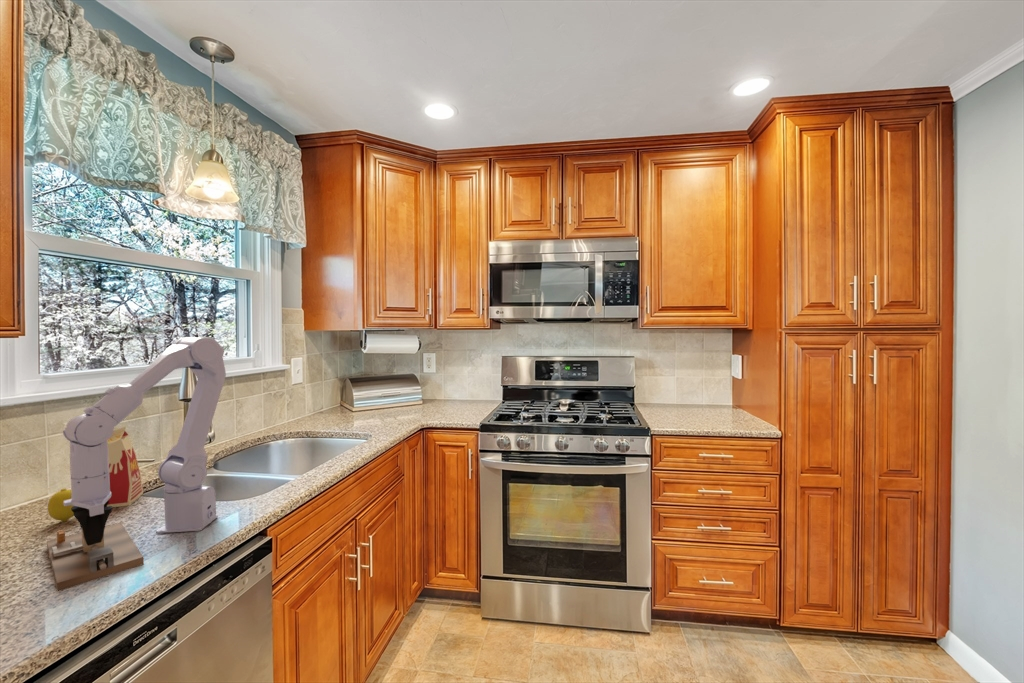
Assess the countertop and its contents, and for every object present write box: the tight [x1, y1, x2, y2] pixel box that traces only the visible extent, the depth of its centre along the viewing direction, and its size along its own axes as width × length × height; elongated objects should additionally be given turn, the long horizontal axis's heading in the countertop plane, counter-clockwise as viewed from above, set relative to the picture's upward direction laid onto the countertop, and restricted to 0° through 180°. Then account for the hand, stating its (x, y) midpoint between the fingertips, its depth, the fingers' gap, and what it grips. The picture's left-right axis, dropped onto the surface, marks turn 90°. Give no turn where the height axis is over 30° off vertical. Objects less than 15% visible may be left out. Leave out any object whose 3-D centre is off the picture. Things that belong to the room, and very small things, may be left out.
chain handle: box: [52, 530, 107, 570], centre depth 88 cm, size 18×7×5 cm, turn 48°
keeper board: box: [46, 522, 145, 592], centre depth 93 cm, size 24×12×4 cm, turn 48°
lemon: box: [47, 488, 74, 523], centre depth 110 cm, size 6×6×8 cm
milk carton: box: [107, 426, 144, 508], centre depth 122 cm, size 9×9×20 cm
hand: (93, 541), depth 93 cm, fingers closed on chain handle, 2 cm apart
